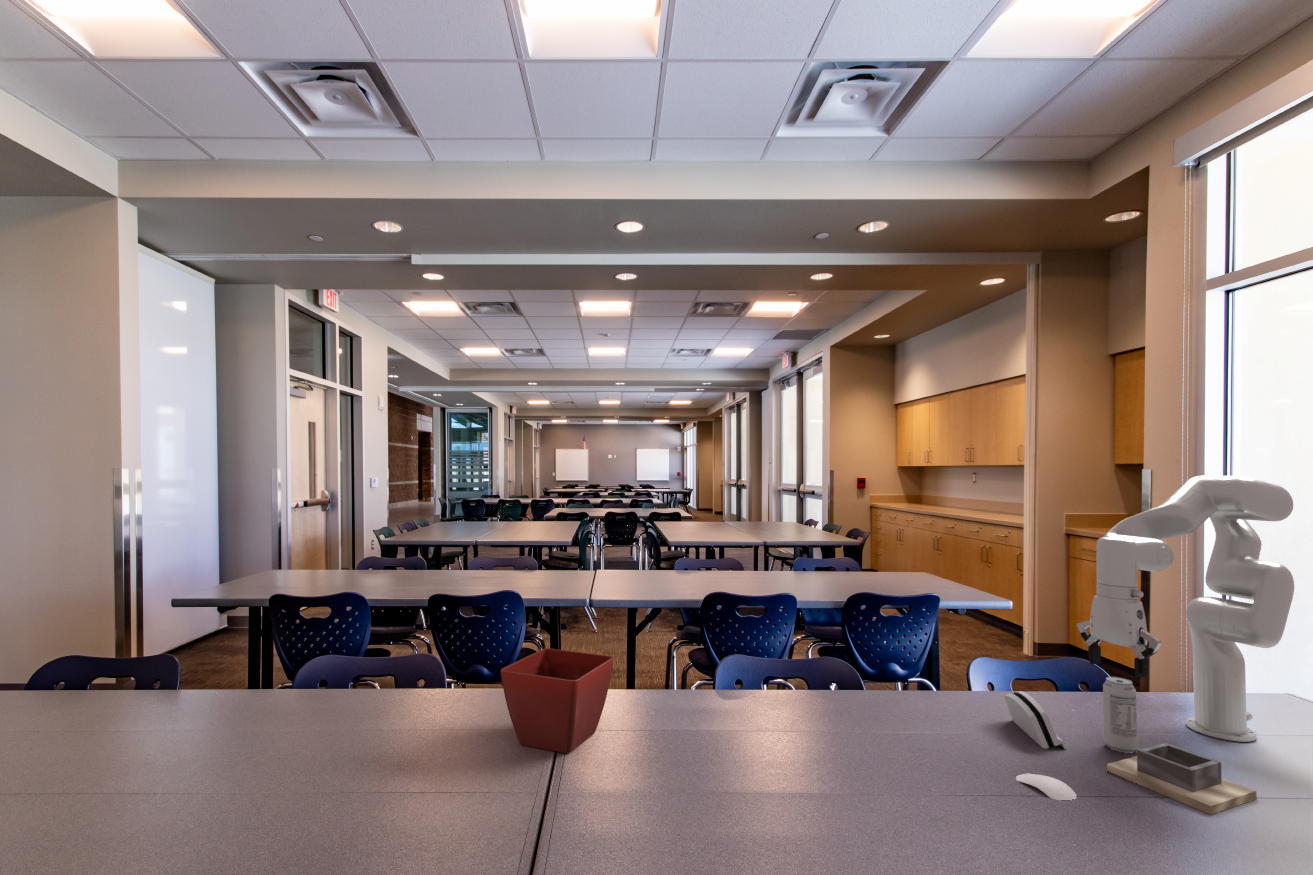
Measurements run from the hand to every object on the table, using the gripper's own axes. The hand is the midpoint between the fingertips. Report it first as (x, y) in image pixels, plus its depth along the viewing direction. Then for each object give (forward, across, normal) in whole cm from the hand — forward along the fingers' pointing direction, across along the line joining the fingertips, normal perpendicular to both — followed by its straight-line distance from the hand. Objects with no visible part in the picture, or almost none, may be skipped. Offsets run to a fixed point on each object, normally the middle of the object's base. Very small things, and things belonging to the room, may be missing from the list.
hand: (1117, 669), depth 145 cm
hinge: (+18, +13, +10) cm, 24 cm away
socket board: (+17, -15, +6) cm, 24 cm away
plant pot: (+20, +51, +114) cm, 126 cm away
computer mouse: (+19, -5, +32) cm, 37 cm away
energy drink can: (+18, 0, -1) cm, 18 cm away
